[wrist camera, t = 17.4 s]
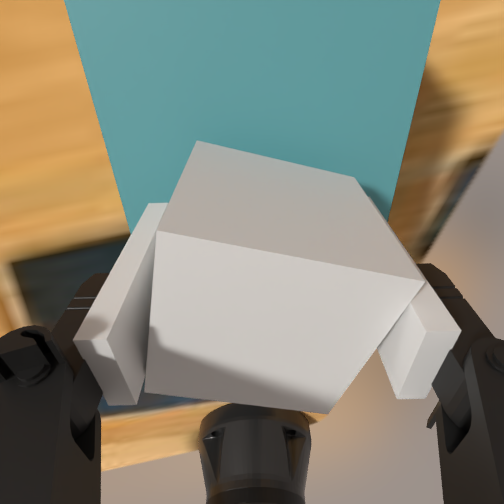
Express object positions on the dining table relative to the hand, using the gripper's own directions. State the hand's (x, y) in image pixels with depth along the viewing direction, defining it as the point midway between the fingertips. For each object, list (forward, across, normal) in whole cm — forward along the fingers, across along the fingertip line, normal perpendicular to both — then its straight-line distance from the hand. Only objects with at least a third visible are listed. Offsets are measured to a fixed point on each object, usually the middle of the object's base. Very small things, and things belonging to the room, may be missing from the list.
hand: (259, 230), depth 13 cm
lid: (+3, 0, -1) cm, 3 cm away
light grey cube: (+1, 0, 0) cm, 1 cm away
